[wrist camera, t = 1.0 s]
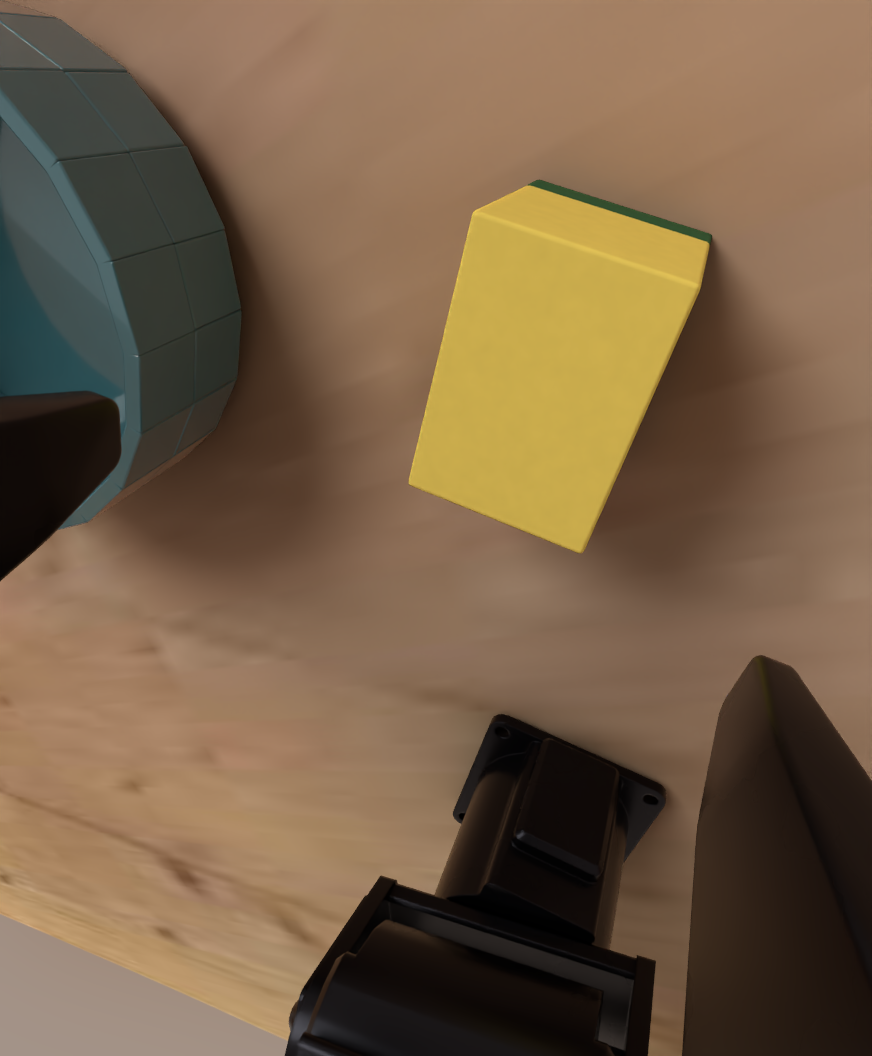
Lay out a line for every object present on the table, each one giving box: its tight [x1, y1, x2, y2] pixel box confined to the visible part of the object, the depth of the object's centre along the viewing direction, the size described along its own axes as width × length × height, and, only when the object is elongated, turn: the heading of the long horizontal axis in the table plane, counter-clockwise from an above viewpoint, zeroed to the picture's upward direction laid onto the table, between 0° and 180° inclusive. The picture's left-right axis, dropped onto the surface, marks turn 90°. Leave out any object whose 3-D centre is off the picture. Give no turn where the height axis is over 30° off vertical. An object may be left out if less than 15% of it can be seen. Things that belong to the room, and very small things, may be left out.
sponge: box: [409, 180, 712, 553], centre depth 16 cm, size 6×4×5 cm
